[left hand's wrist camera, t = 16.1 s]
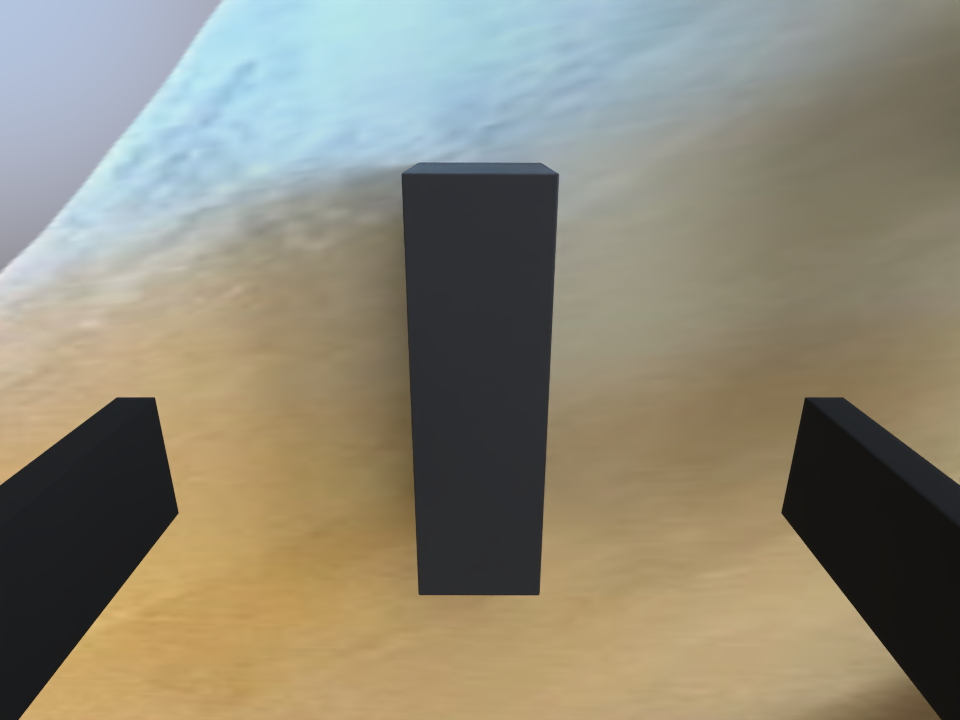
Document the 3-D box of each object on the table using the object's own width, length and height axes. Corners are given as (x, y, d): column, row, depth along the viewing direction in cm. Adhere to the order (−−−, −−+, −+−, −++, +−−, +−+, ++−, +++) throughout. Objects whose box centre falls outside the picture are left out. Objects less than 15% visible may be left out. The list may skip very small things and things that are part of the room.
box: (418, 162, 37) (401, 173, 29) (541, 163, 37) (559, 173, 29) (429, 512, 45) (418, 595, 37) (529, 513, 45) (539, 595, 37)
